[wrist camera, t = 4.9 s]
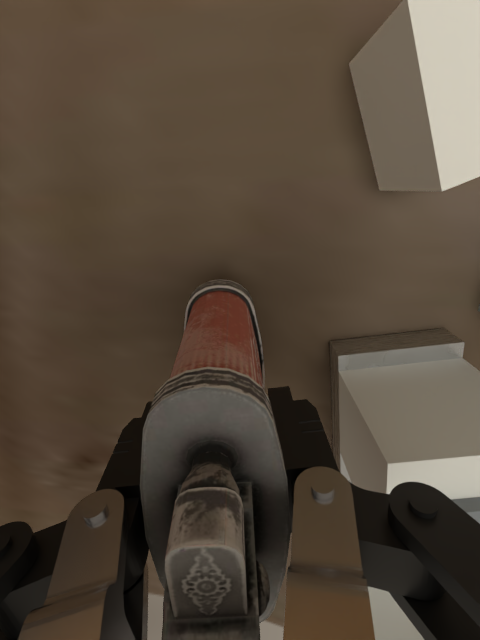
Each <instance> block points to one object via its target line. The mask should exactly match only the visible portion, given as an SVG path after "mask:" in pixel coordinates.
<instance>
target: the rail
mask: <svg viewBox="0 0 480 640" xmlns="http://www.w3.org/2000/svg"><path fill="white" fill-rule="evenodd" d="M463 350H464V341H462V340H461V339H459V338H458V337H456V336H455V335H453V334H452V333H451V332H449V331H448V330H446V329H445V328H442V329H433V330H424V331H415V332H406V333H397V334H388V335H379V336H370V337H361V338H352V339H343V340H334V341H330V372H331V404H332V436H333V456H334V459H335V461H336V464H337V467H338V469H339V471H340V473H341V474H342V475H344V477H345V478H346V479H347V480H348V481H349V482H350V483H352V482H351V480H350V477H349V474H348V472H347V469H346V466H345V464H344V461H343V458H342V456H341V453H340V418H339V371H345V370H355V369H364V368H373V367H383V366H392V365H401V364H411V363H420V362H429V361H439V360H448V359H457V358H462V357H463ZM368 587H369V586H368Z"/></svg>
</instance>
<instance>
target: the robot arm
mask: <svg viewBox="0 0 480 640" xmlns="http://www.w3.org/2000/svg"><path fill="white" fill-rule="evenodd" d="M268 395H269V400H270V404H271V408H272V412H273V417H274V421H275V425H276V429H277V433H278V437H279V442H280V446H281V450H282V454H283V460H284V465H285V471H286V476H287V485H288V498H289V511H290V524H291V533H292V544H291V562H290V567H288V572H287V582H286V599H285V616H284V633H283V640H375V634H374V627H373V620H372V612H371V605H370V598H369V591H368V586H369V587H373V588H377V589H380V590H384V591H388V592H389V593H390V595H391V596H392V597H393V599H394V600H395V601H396V603H397V604H398V605H399V607H400V608H401V609H402V611H403V612H404V613H405V615H406V616H407V617H408V619H409V620H410V621H411V623H412V624H413V625H414V627H415V628H416V629H417V631H418V632H419V633H420V634H421V636H422V637H423V638H424V640H480V524H479V523H478V522H477V521H476V520H475V519H473V518H472V517H471V516H470V515H469V514H467V513H466V512H465V511H464V510H463V509H462V508H460V507H459V506H458V505H457V504H456V503H454V502H453V501H452V500H451V499H450V498H448V497H447V496H446V495H445V494H443V493H442V492H441V491H439V490H438V489H436V488H434V487H432V486H430V485H427V484H424V483H419V482H404V483H401V484H398V485H397V486H395V487H394V488H393V489H392V491H391V493H390V494H385V493H380V492H374V491H369V490H365V489H362V488H359V487H357V486H355V485H354V484H352V483H350V482H349V481H348V480H347V479H346V478H345V477H344V475H342V474H341V473H340V471H339V469H338V467H337V464H336V461H335V459H334V456H333V453H332V450H331V448H330V445H329V442H328V440H327V437H326V434H325V431H324V429H323V426H322V423H321V422H320V418H319V415H318V412H317V410H316V408H315V407H314V406H313V405H312V404H311V403H310V402H309V401H308V400H307V399H304V400H295V401H293V399H292V396H291V392H290V388H289V386H287V387H278V388H269V389H268ZM152 402H153V401H152ZM152 402H148V403H147V405H146V407H145V410H144V413H143V415H142V417H141V418H133V419H132V420H131V422H130V423H129V424H128V425H127V426H126V427H125V428H124V429H123V430H122V433H121V435H120V437H119V440H118V444H116V446H115V449H114V451H113V454H112V456H111V458H110V460H109V462H108V465H107V467H106V469H105V471H104V474H103V476H102V478H101V481H100V483H99V485H98V487H97V490H96V492H94V493H91V494H90V495H88V496H86V497H85V498H83V499H82V500H81V501H80V502H79V503H78V504H77V505H76V506H75V507H74V508H73V510H72V511H71V513H70V514H69V516H68V519H67V520H66V521H63V522H61V523H59V524H56V525H54V526H51V527H48V528H46V529H43V530H41V531H38V532H35V533H33V531H32V529H31V527H30V526H29V525H28V524H27V523H25V522H11V523H8V524H5V525H3V526H0V640H147V620H148V566H147V563H146V560H147V556H148V551H149V546H148V543H147V540H146V536H145V527H144V518H143V509H142V500H141V491H140V476H141V457H142V438H143V428H144V425H145V422H146V419H147V416H148V413H149V410H150V408H151V405H152Z"/></svg>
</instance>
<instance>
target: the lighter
mask: <svg viewBox="0 0 480 640" xmlns="http://www.w3.org/2000/svg"><path fill="white" fill-rule="evenodd" d="M264 387H265V370H264V359H263V349H262V340H261V335H260V330H259V326H258V322H257V317H256V313H255V309H254V304H253V300H252V298H251V296H250V294H249V292H248V291H247V290H246V289H245V288H244V287H243V286H242V285H240V284H238V283H236V282H233V281H231V280H222V279H218V280H212V281H208V282H206V283H204V284H202V285H200V286H198V287H197V288H196V290H195V291H194V292H193V293H192V294H191V297H190V299H189V302H188V305H187V308H186V313H185V323H184V334H183V338H182V341H181V344H180V347H179V351H178V354H177V357H176V360H175V363H174V366H173V369H172V373H171V376H170V379H168V380H167V381H166V382H165V383H164V384H163V385H162V386H161V387H160V389H159V390H158V391H157V392H156V394H155V396H154V399H153V402H152V405H151V408H150V410H149V413H148V416H147V419H146V422H145V425H144V428H143V438H142V457H141V476H140V491H141V500H142V509H143V518H144V527H145V536H146V540H147V543H148V546H149V549H150V552H151V555H152V558H153V561H154V564H155V568H156V571H157V574H158V577H159V580H160V582H161V584H162V586H163V588H164V589H165V591H164V602H163V629H162V640H260V628H259V623H261V622H262V621H264V620H266V619H267V618H268V617H269V616H270V614H271V613H272V611H273V610H274V607H275V604H276V601H277V598H278V595H279V592H280V588H281V585H282V582H283V579H284V576H285V571H286V564H287V556H288V548H289V541H290V533H291V524H290V511H289V498H288V485H287V476H286V471H285V465H284V460H283V454H282V450H281V446H280V442H279V437H278V433H277V429H276V425H275V421H274V417H273V412H272V408H271V404H270V400H269V399H268V397H267V395H266V393H265V391H264Z"/></svg>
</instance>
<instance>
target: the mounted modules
mask: <svg viewBox="0 0 480 640" xmlns="http://www.w3.org/2000/svg"><path fill="white" fill-rule="evenodd" d="M339 418H340V453H341V456H342V458H343V461H344V464H345V466H346V469H347V472H348V474H349V477H350V480H351V482H352V484H354V485H355V486H357V487H359V488H362V489H365V490H369V491H374V492H380V493H385V494H390V493H391V491H392V489H393V488H394V487H395V486H397V485H398V484H401V483H404V482H419V483H424V484H427V485H430V486H432V487H434V488H436V489H438V490H439V491H441V492H442V493H443V494H445V495H446V496H447V497H448V498H450V499H451V500H452V501H453V502H454V503H456V504H457V505H458V506H459V507H460V508H462V509H463V510H464V511H465V512H466V513H467V514H469V515H470V516H471V517H472V518H473V519H475V520H476V521H477V522H478V523H479V524H480V371H479V370H477V369H476V368H475V367H474V366H472V365H471V364H470V363H468V362H467V361H466V360H464V359H463V358H457V359H448V360H439V361H429V362H420V363H411V364H401V365H392V366H383V367H373V368H364V369H355V370H345V371H339ZM368 591H369V598H370V605H371V612H372V620H373V627H374V634H375V640H424V638H423V637H422V636H421V634H420V633H419V632H418V631H417V629H416V628H415V627H414V625H413V624H412V623H411V621H410V620H409V619H408V617H407V616H406V615H405V613H404V612H403V611H402V609H401V608H400V607H399V605H398V604H397V603H396V601H395V600H394V599H393V597H392V596H391V595H390V593H389V592H388V591H384V590H380V589H377V588H373V587H368Z"/></svg>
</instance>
